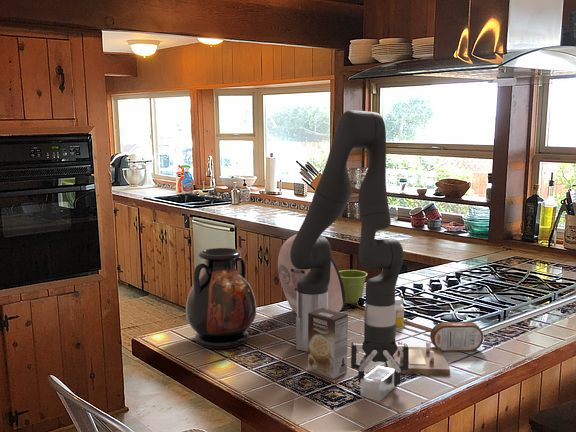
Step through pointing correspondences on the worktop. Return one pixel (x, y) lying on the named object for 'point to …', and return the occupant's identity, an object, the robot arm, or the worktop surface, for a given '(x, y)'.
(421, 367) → the pin tray
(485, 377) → the worktop surface
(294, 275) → the pink rounded upright piece
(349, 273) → the plant pot
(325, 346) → the coffee box
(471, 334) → the tin
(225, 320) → the amphora vase
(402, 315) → the supplement bottle
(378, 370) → the white rectangular box
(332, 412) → the worktop surface
